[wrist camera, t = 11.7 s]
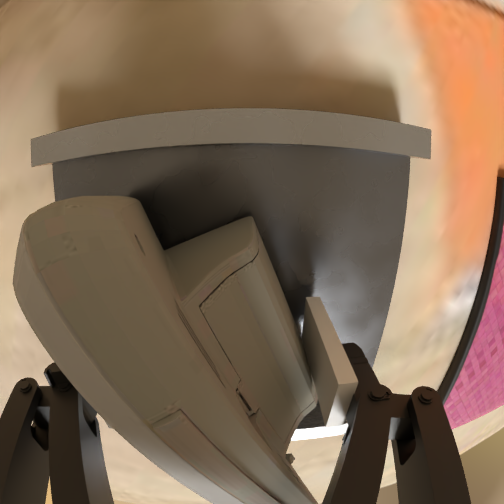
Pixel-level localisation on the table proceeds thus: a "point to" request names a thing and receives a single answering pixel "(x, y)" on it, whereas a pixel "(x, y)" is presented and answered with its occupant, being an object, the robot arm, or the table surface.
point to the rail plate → (265, 198)
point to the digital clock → (172, 343)
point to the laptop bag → (481, 339)
